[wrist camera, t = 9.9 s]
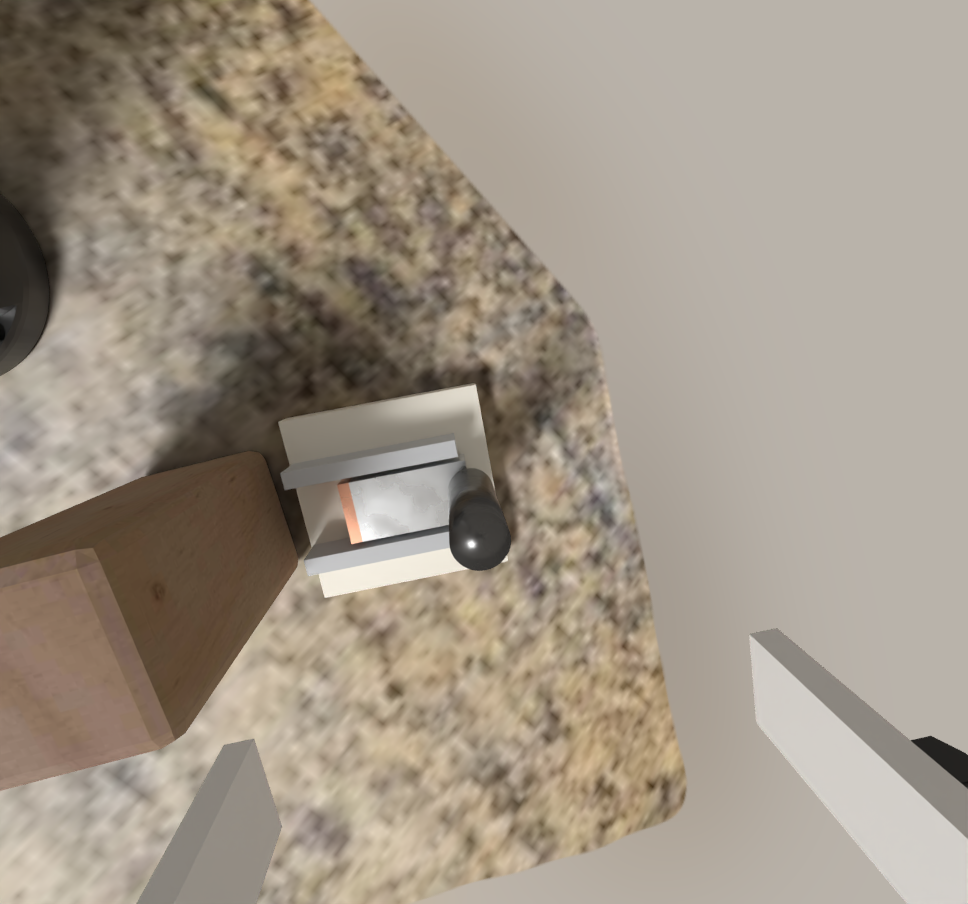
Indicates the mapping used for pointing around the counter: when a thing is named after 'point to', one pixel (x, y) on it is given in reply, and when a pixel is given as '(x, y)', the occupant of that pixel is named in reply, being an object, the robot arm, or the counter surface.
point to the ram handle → (430, 508)
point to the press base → (370, 449)
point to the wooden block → (132, 612)
